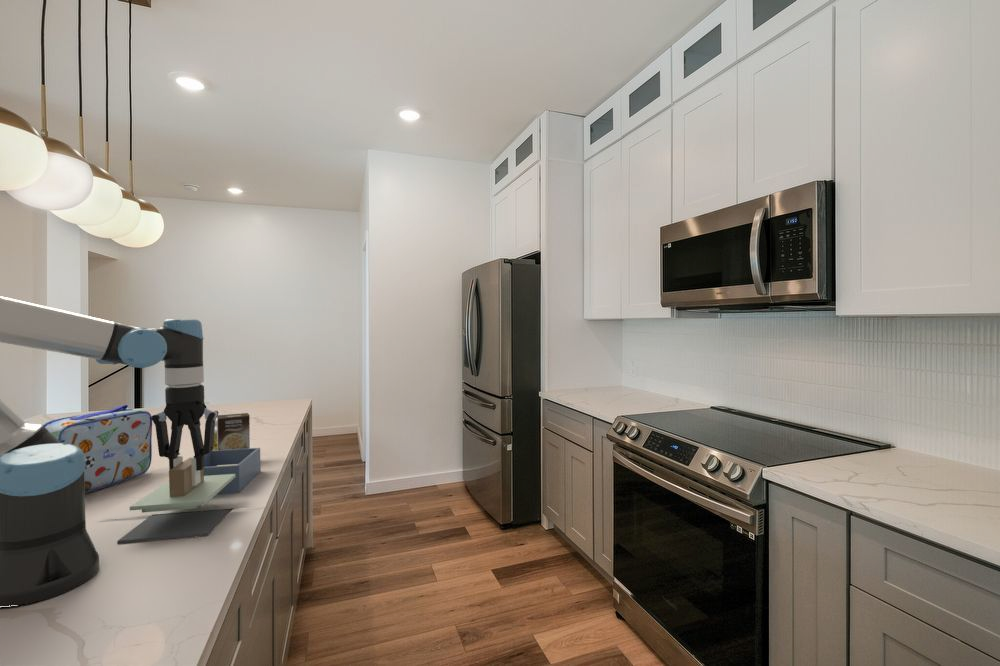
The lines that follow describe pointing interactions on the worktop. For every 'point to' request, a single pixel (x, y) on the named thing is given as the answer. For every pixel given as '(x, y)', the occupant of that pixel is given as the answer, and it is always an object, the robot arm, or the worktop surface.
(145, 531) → the mat
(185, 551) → the worktop surface
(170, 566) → the worktop surface
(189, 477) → the lid
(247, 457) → the storage box
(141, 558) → the worktop surface
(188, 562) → the worktop surface
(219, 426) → the coffee box
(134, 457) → the lunch box
